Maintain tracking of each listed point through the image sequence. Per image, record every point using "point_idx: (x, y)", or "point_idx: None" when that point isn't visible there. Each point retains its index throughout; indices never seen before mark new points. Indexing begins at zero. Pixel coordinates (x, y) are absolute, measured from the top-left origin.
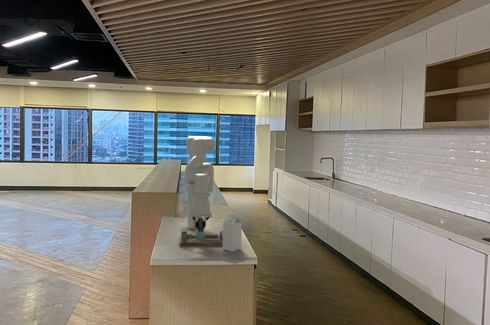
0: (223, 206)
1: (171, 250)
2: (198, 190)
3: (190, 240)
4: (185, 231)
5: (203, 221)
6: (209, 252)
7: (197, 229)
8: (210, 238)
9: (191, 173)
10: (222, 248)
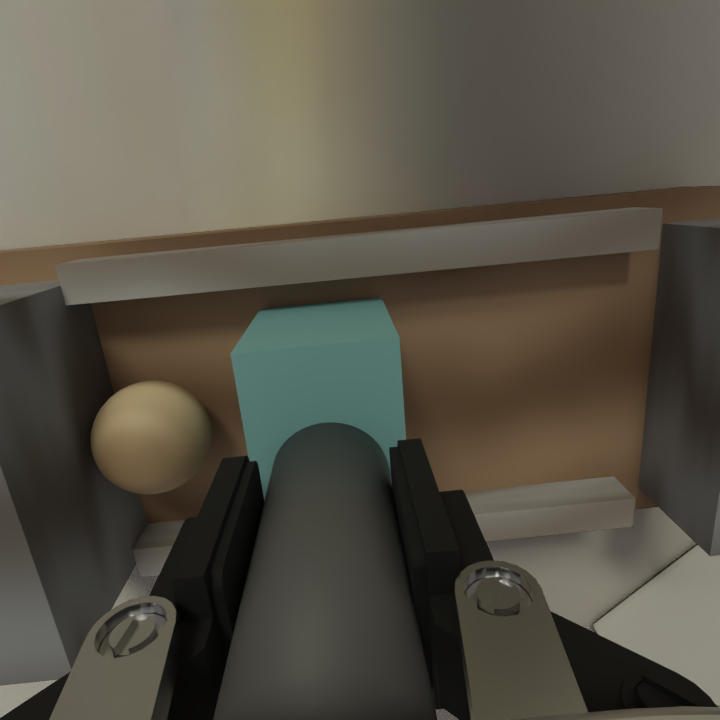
0: None
1: (29, 682)
2: None
3: None
4: (38, 678)
5: (425, 611)
6: (441, 716)
7: (255, 371)
8: (499, 295)
9: None
10: (596, 631)
